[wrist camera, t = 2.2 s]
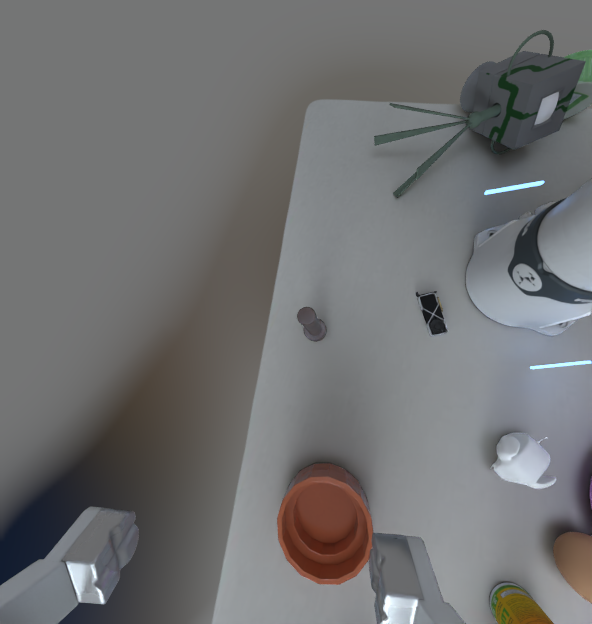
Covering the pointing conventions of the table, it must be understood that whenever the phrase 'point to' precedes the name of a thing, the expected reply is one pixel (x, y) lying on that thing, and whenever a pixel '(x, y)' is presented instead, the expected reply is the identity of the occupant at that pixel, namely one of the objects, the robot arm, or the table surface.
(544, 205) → the robot arm
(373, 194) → the table surface
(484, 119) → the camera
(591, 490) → the teapot
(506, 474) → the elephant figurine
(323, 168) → the table surface
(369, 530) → the bowl
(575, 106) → the ramekin
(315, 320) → the stick
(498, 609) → the supplement bottle
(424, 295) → the graphics card
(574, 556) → the egg
